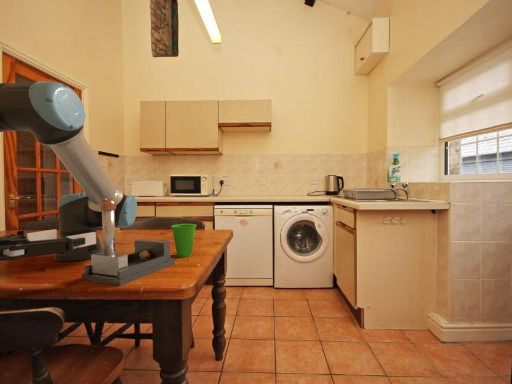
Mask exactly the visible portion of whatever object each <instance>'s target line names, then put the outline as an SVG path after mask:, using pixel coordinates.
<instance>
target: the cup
mask: <svg viewBox="0 0 512 384" xmlns="http://www.w3.org/2000/svg"><path fill="white" fill-rule="evenodd" d="M196 227H197V224H194V223H181V224H173V225H171V226H170V228H171V230H172V236H173V240H174V246H175V251H176V252H175V253H176V256H177V257H178V258H189V257H191V256H192V254H193V248H194V242H195V241H194V240H195V233H196Z"/></svg>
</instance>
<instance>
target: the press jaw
mask: <svg viewBox="0 0 512 384" xmlns="http://www.w3.org/2000/svg"><path fill="white" fill-rule="evenodd" d="M100 209H101V210H102V228H101V230H102V247H103V252H99V253H95V254H91V258H90V260H91V265H92V273H99V274H106V275H113V276H117V271H119V270H122V269H125V268H128V255H126V254H124V253H123V254H122V253H116V228H115V214H114V210H115V209H116V202H115V201H114V200H113V199H111V198H106V199H103V200H102V201H101V203H100Z"/></svg>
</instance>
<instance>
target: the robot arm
mask: <svg viewBox="0 0 512 384" xmlns="http://www.w3.org/2000/svg"><path fill="white" fill-rule="evenodd" d="M84 110H85V107H84V105H83V102H82V100H81V98H80V97H79V96H78V94H77V93H76V92H75V91H74V90H73V89H72V88H70V86H68V85H67V84H66V85H65V84H64V83H62V82H56V81H46V80H39V81H29V82H25V81H24V82H1V83H0V133H5V132H30V133H31V135H33V137H34V138H35V140H37V142H38V143H39V144H41V145H43V146H49V147H50V149H51V150H52V151H53V152H54V154H55V155H56V157H58V159H59V160H60V162H61V163H62V164H63V166H64V168H65V169H66V170H67V171H68V172H69V174H70V175H71V176H72V178H73V179H74V181H75V182H76V183H77V184H78V186H79V187H80V189H81V190H82V191H83V192H77V193H70V194H64V195H62V196H61V197H59V199H58V207H57V209H58V227H59V228H58V229H59V230H58V229H56V228H55V229H54V228H53V229H48V230H41V231H34V232H28V233H26V232H24V230H19V231H18V230H17V231H16V233H10V234H8V235H7V234H6V235H2V236H0V262H3V261H4V262H5V261H12V262H15V261H17V260H23V259H29V258H34V257H43V256H50V255H53V260H54V261H56V262H75V261H76V262H77V261H83V260H84V261H85V260H91V254H95V253H99V252H103V244H102V243H101V240H100V237H99V235H98V228H99V229H100V228H101V229H102V210H101V209H100V203H101V201H102V200H103V199H106V198H111V199H113V200H114V201H115V202H116V209H115V210H114V214H115V229H122V228H129V227H131V226H132V225H133V224H134V222H135V221H136V218H137V213H138V202H137V199H136V197H135V196H134V195H130V194H127V195H126V194H125V192H124V190H123V189H122V188H121V187H119V186H117V185H114V183H113V181H112V180H111V179H110V176H109V175H108V174H107V172H106V170H105V169H104V167H103V165H102V164H101V162H100V160H99V159H98V157H97V155H96V154H95V151H93V149H92V147H91V145H90V144H89V142H88V141H87V139H86V137H85V136H84V134H83V133H82V132H83V130H84V127H85V125H84V124H85V121H86V113H85V112H84ZM57 230H58V231H59V238H58V231H57Z"/></svg>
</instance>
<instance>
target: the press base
mask: <svg viewBox="0 0 512 384" xmlns="http://www.w3.org/2000/svg"><path fill="white" fill-rule="evenodd" d="M125 255H128V268H125V269H122V270H119V271H117V276H113V275H106V274H99V273H92V264H89V265H85V266H84V273H82V274H81V280H82V281H87V282H93V283H101V284H107V285H112V286H117V287H118V286H119V287H121V286H124V285H126V284H128V283H131V282H133V281H135V280H139V279H140V278H143V277H145V276H148V275H150V274H153V273H155V272H157V271H160V270H162V269H165V268H168V267H170V266H172V265H174V264H176V259H175V258H171V241H170V240H161V239H147V238H140V239H136V240H134V252H131V253H127V254H125Z"/></svg>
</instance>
